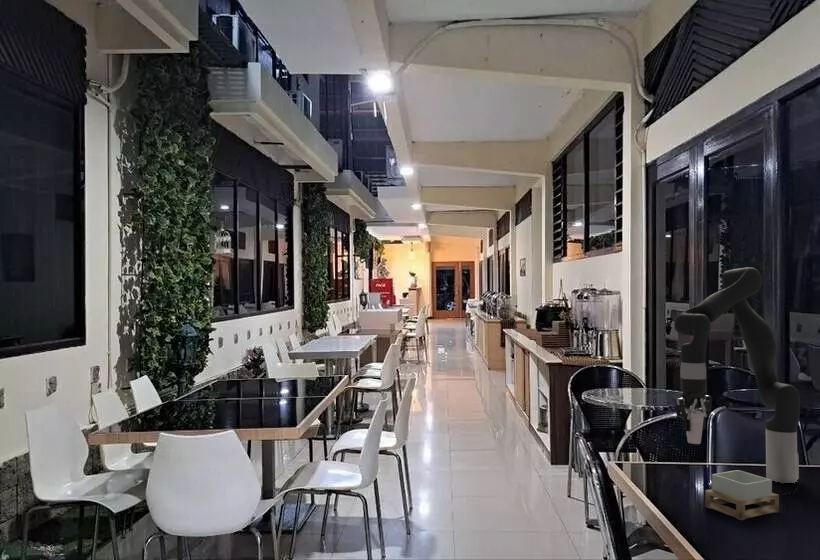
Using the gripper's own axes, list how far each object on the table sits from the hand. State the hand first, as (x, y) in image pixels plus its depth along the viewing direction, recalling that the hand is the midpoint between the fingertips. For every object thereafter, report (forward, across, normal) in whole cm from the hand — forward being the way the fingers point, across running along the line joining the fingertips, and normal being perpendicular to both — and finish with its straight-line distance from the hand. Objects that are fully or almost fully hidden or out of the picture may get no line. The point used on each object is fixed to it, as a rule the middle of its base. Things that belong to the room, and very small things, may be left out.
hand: (694, 429), depth 197 cm
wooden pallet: (+21, -3, +14) cm, 26 cm away
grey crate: (+16, -4, +14) cm, 22 cm away
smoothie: (+4, 0, 0) cm, 4 cm away
